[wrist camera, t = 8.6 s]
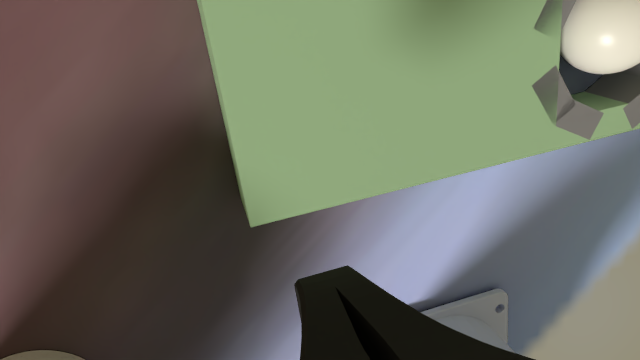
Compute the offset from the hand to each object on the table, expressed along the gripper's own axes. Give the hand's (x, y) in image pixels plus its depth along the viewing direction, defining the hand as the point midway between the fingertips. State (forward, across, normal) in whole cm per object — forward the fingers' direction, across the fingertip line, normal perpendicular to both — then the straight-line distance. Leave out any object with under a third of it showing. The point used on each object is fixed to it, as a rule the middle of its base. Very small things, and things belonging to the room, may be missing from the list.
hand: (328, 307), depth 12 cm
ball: (+7, -14, -4) cm, 16 cm away
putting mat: (+9, -9, -3) cm, 13 cm away
